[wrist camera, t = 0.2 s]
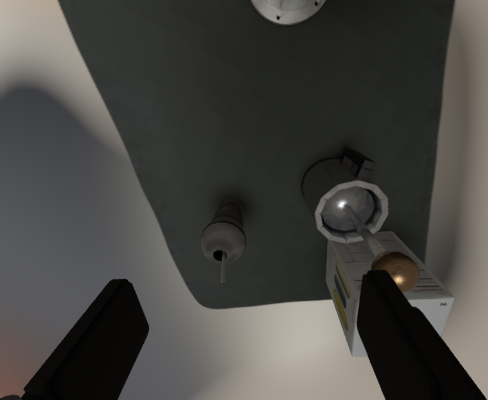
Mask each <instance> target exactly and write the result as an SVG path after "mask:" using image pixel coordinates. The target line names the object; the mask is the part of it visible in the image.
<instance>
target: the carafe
mask: <svg viewBox="0 0 488 400" xmlns="http://www.w3.org/2000/svg"><path fill="white" fill-rule="evenodd" d="M352 162H354V163H355V164H356V165H358V166H359V167H358V169H355V168H354V167H353V166H352V165H351V164H352ZM375 165H376V163H375V162H374V161H372V160H371V159H369V158H367V157H366V156H364V155H362V154H361V153H359V152H357V151H356V150H353V149H349V148H346V149H345V151H344V153H343V156H342V158H341V159H339V158H326V159H323V160H320V161H318V162H316V163H315V164H313V165H312V166H311V167H310V168H309V169H308V170H307V171H306V173H305V174H304V177H303V179H302V184H301V188H302V193H303V196H304V198H305V200H306V202H307V205H308V207H309V209H310V212H311V214H312V217H313V219H314V221H315V224H316V226H317V229H318V230H319V231H320V232H321V233H322V234H323V235H325V236H326V237H327V238H328V239H329V240H332V241H337V242H341V243H352V242H357V241H362V240H364V239H363V238H362V236H361V235H360V234H359V232H358V231H357V229H356V228H355V229H351V230H337V229H334V228H331V227H330V226H329V225H327V224H326V223H325V221H324V220H323V218H322V215H321V211H322V209H323V207H324V204H325V202H326V200H327V199H329V198H330V197H331V196H332V195H334V194H335V193H336V192H337V191H339V190H341V189H345V188H350V187H354V186H358V187H362V188H365V189H366V190H367V191H368V192H369V193H370V194H371V196H372V198H373V201H374V208H373V212H372V214H371V216H370V218H369V219H368V220H367V221H366V222H365V223H364V224H365V225H366V226H367V228H368V229H369V230H370V231H371V233H372V234H374V233H375V232H377V231H378V230H379V229H380V228H381V226H382V224H383V222H384V221H385V219H386V217H387V216H388V201H387V197H386V196H385V195H384V193H383V192H382V191H381V190H380V189H379V188H378V187H377V186H376V185H375V184H374V183H373V182H372V181H370V180H369V177H370V175H371V173H372V171H373V169H374V167H375Z"/></svg>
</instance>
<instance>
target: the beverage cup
mask: <svg viewBox="0 0 488 400" xmlns="http://www.w3.org/2000/svg"><path fill="white" fill-rule="evenodd" d="M201 242H202V250H203V252H204V254H205V256H206V257H207V258H208V259H209V260H210V261H212V262H213V263H215V264H219V265H222V271H221V283H224V281H225V264H230V263H232V262H234V261H236V260H237V259H238V258H239V257H240V255H241V254H242V252H243V250H244V247H245V245H246V237H245V233H244V230H243V209H242V205H241V203H240V202H239V201H238V200H236V199H227V200H225V201H224V202H223V203H222V204H221V206H220V207H219V209H218V211H217V212H216V214H215V216H214V218H213V219H212V221H211V223H210V224H209V225H208V226H207V227H206V228H205V229H204V230H203V233H202V241H201Z"/></svg>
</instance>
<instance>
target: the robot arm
mask: <svg viewBox="0 0 488 400" xmlns="http://www.w3.org/2000/svg"><path fill="white" fill-rule="evenodd" d="M250 1H251V4H252V5H253V7H254V8H255V10H256V11H257V13H258V14H259V15H260V16H261V17H263V18H264V19H265V20H267V21H268V22H270V23H272V24H275V25H278V26H294V25H297V24H300V23H303V22H304V21H306V20H308V19H309V18H311V17H312V16H313V15H314V14H315V13H316V12H317V11H318V10H319V9H320V8H321V7H322V5H323V4H324V3H325V1H326V0H250ZM315 2H317V3H318V5H317V6H315ZM277 17H280V20H277V19H276V18H277ZM356 325H357V330H358V333H359V336H360V338H361V341H362V343H363V346H364V348H365V351H366V353H367V355H368V358H369V360H370V363H371V365H372V368H373V370H374V372H375V375H376V377H377V380H378V382H379V385H380V387H381V390H382V392H383V395H384V397H385V400H487V399H486V398H485V396H484V395H483V394H482V392H481V391H480V389H479V388H478V387H477V385H476V384H475V383H474V381H473V380H472V379H471V377H470V376H469V375H468V373H467V372H466V370H465V369H464V368H463V367H462V365H461V364H460V362H459V361H458V360H457V358H456V357H455V356H454V354H453V353H452V352H451V350H450V349H449V347H448V346H447V345H446V343H445V342H444V341H443V339H442V338H441V337H440V335H439V334H438V333H437V331H436V330H435V328H434V327H433V326H432V324H431V323H430V322H429V320H428V319H427V318H426V316H425V315H424V314H423V312H422V311H421V310H420V309H418V308H417V307H414V306H412V305H411V304H410V303H409V301H408V300H407V298H406V297H405V296H404V294H403V293H402V291H401V290H400V289H399V287H398V286H397V284H396V283H395V281H394V280H393V279H392V277H391V276H390V274H389V273H388V272H387V271H386V270H368V271H367V274H363V277H362V284H361V291H360V299H359V306H358V314H357V321H356ZM148 332H149V325H148V323H147V320H146V317H145V315H144V313H143V310H142V307H141V305H140V302H139V300H138V297H137V295H136V292H135V290H134V287H133V285H132V283H130V282H129V281H128V280H127V279H113V280H111V281H110V282H109V283H108V284H107V285H106V286H105V288H104V289H103V290H102V292H101V293H100V294H99V295H98V296H97V298H96V299H95V300H94V302H93V303H92V304H91V305H90V306H89V308H88V309H87V310H86V312H85V313H84V314H83V315H82V316H81V318H80V319H79V320H78V321H77V323H76V324H75V325H74V326H73V328H72V329H71V330H70V331H69V333H68V334H67V335H66V336H65V338H64V339H63V340H62V341H61V343H60V344H59V345H58V346H57V348H56V349H55V350H54V352H53V353H52V354H51V355H50V356H49V358H48V359H47V360H46V362H45V363H44V364H43V365H42V366H41V368H40V369H39V370H38V371H37V373H36V374H35V375H34V376H33V378H32V379H31V380H30V381H29V383H28V384H27V385H26V386H25V388H24V391H25V393H24V395H23V396H22V397H21V398H20V397H19V396H18V395H9V396H5V397H2V398H0V400H118V397H119V395H120V393H121V391H122V389H123V386H124V385H125V382H126V380H127V378H128V376H129V374H130V372H131V369H132V367H133V365H134V363H135V361H136V359H137V357H138V354H139V352H140V350H141V348H142V346H143V344H144V342H145V339H146V337H147V335H148Z"/></svg>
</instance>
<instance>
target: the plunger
mask: <svg viewBox="0 0 488 400" xmlns="http://www.w3.org/2000/svg"><path fill="white" fill-rule="evenodd" d="M373 208H374V201H373V198H372V196H371V194H370V193H369V192H368V191H367V190H366V189H365V188H362V187H358V186H354V187H350V188H345V189H341V190H339V191H337V192H336V193H335V194H334V195H332V196H331V197H330V198H329V199H327V200H326V202H325V204H324V207H323V209H322V211H321V215H322V218H323V220H324V221H325V223H326V224H327V225H329V226H330V227H331V228H334V229H337V230H351V229H355V228H356V229H357V231H358V232H359V234H360V235H361V236H362V238H363V239H364V241H365V242H366V244H367V245H368V246H369V248H370V249H371V251H372V252H373V253H374V255H375V256H376V257H375V258H374V260H373V262H372V264H371V270H386V271H387V272H388V273H389V274H390V276H391V277H392V279H393V280H394V281H395V283H396V284H397V286H398V287H399V289H400V290H401V291H402V293H406V292H409V291H411V290H412V289H414V288H415V287H416V285H417V284H418V282H419V277H420V274H419V269H418V267H417V265H416V263H415V262H414V261H413V260H412V259H411V258H410V257H409V256H407V255H406V254H403V253H401V252H398V251H386V250H385V249H384V248H383V247H382V245H381V244H380V243H379V242H378V240H377V239H376V238H375V237H374V235H373V234H372V233H371V231H370V230H369V229H368V228H367V226H366V225H365V224H364V223H365V222H366V221H367V220H368V219H369V218H370V216H371V214H372V212H373Z"/></svg>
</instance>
